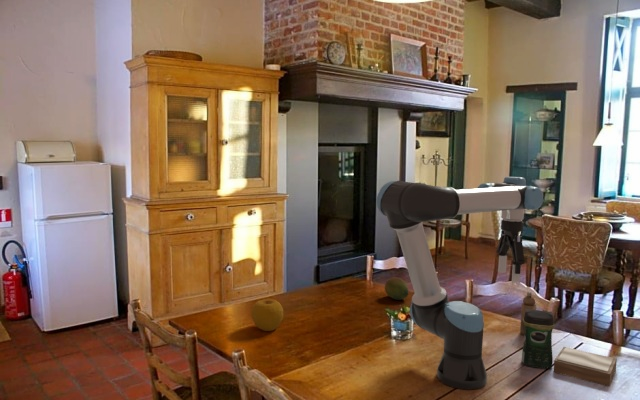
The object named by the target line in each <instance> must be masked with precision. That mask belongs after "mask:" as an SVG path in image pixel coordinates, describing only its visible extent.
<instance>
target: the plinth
mask: <svg viewBox="0 0 640 400" xmlns="http://www.w3.org/2000/svg"><path fill="white" fill-rule="evenodd" d="M616 369H617V358H614V357H610V356H606V355H603V354H598V353H592V352H590V351H589V352H588V351H583V350H580V349H576V348H570V347H567V346H563V347H562V349H561V350H560V351H559V353H558V355H557V356H556V357H555V359H553V373H557V374H559V375H564V376H568V377H571V378H575V379H579V380H583V381H587V382H590V383H594V384H597V385H598V384H599V385H602V386H606V387H610V386H611V384H612V380H613V378H614V376H615V373H616V371H617V370H616Z"/></svg>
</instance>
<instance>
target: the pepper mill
mask: <svg viewBox="0 0 640 400" xmlns="http://www.w3.org/2000/svg"><path fill="white" fill-rule="evenodd" d="M532 293H533V292H531V291H527V293H526V296H524V297H523V299H522V302H521V309H520V310H521V311H520V313H521V314H520V330H519V331H520V332H519V334H520V336H524V337H525V326H524V323H523V319H524V316H525V311H526V310H527V309H531V310H537V304H536V299H535V297H534V296H533V295H532Z"/></svg>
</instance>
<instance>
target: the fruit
mask: <svg viewBox="0 0 640 400" xmlns="http://www.w3.org/2000/svg"><path fill="white" fill-rule="evenodd" d="M384 291H385V293H386V295H387V296H388V297H390V298H391V299H394V300H396V301H401V300H404V299H406V298H407V297H408V296H409V286H408V284H407V282H406V281H405V280H404V279H402V278H400V277H398V276H397V277H396V276H393V277H390V278H389V279H387V280H386V282H385V284H384Z"/></svg>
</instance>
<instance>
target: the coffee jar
mask: <svg viewBox="0 0 640 400" xmlns="http://www.w3.org/2000/svg"><path fill="white" fill-rule="evenodd" d="M554 318H555V317H554V313H553V311H548V310H547V311H546V310H539V309H536V310H531V309H527V310H526V311H525V316H524V319H523V323H524V326H525V336H524V339H523V345H522V352H521V362H522V364H524V365H525V366H528V367H533V368H539V369H550V368H552V367H553V364H554V359H553V358H554V357H553V347H552V346H553V343H552V338H553V337H552V335H553V330H554V328H555V319H554Z"/></svg>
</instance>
